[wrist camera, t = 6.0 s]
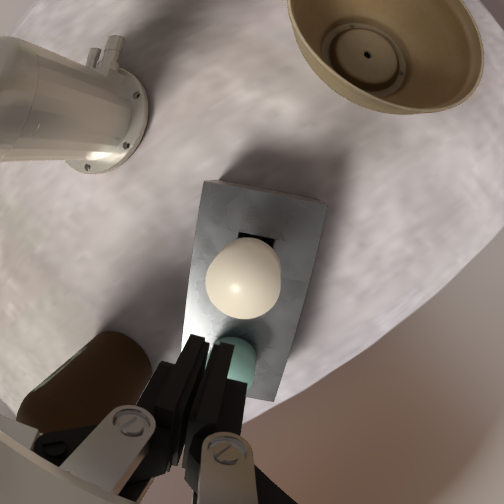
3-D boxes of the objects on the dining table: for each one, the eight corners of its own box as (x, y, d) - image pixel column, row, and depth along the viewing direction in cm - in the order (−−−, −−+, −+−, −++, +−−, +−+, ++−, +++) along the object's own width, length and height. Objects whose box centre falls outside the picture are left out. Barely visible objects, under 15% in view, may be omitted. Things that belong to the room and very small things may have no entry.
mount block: (218, 179, 29) (203, 180, 24) (318, 199, 29) (327, 205, 23) (193, 351, 35) (178, 380, 29) (275, 369, 34) (273, 401, 28)
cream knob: (234, 218, 26) (211, 240, 17) (285, 229, 26) (288, 256, 17) (226, 267, 27) (201, 310, 18) (274, 277, 27) (271, 325, 18)
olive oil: (167, 356, 35) (71, 523, 11) (142, 402, 38) (66, 536, 14) (98, 311, 35) (-37, 433, 11) (82, 362, 37) (-18, 473, 13)
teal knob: (224, 305, 32) (205, 349, 24) (264, 313, 32) (258, 361, 23) (218, 339, 33) (199, 388, 25) (256, 347, 33) (248, 399, 24)
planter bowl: (393, -5, 22) (426, -53, 11) (449, 117, 25) (509, 101, 15) (264, 14, 25) (255, -45, 14) (317, 147, 28) (338, 132, 17)
